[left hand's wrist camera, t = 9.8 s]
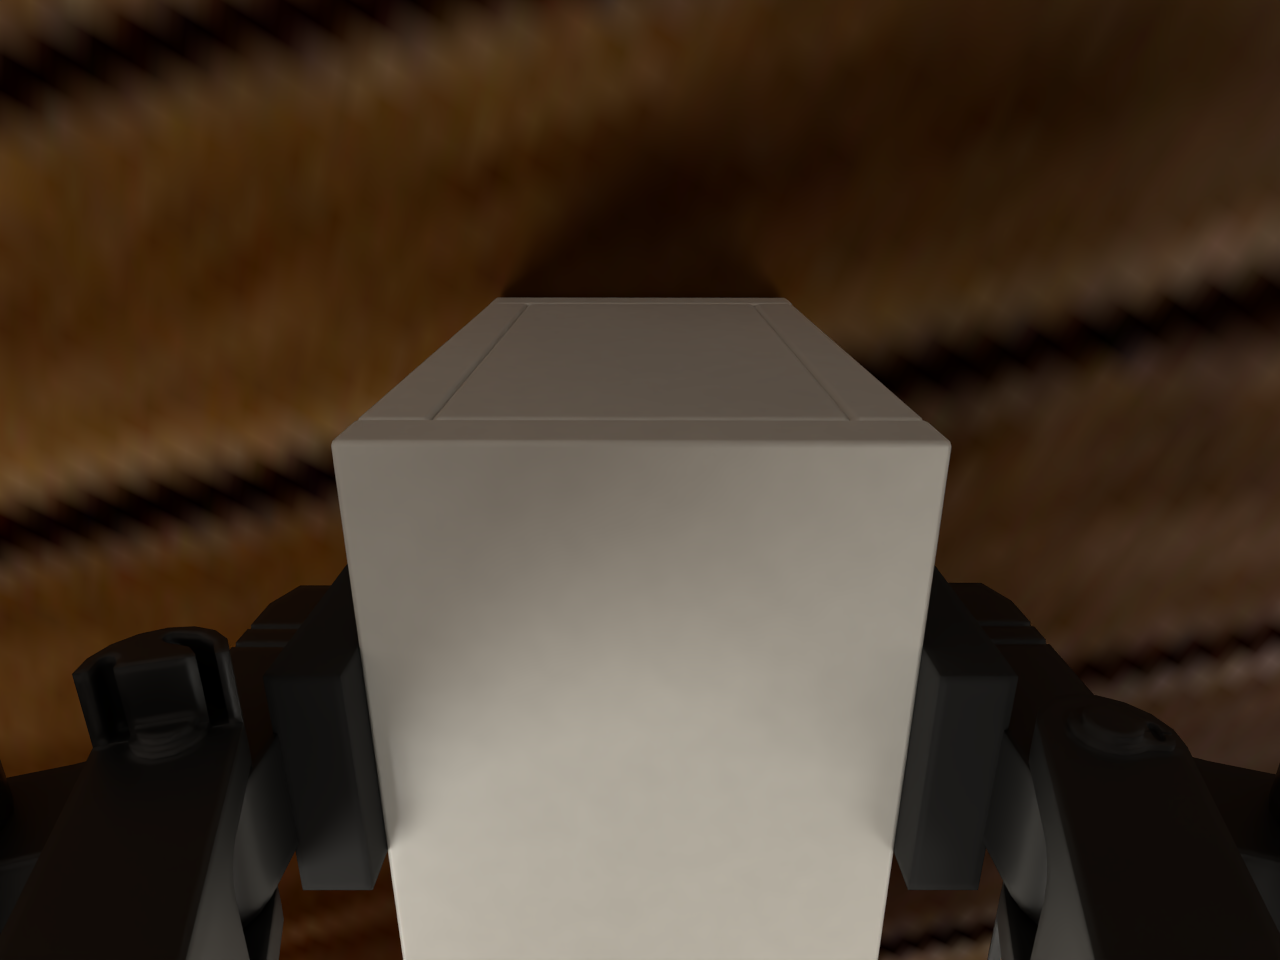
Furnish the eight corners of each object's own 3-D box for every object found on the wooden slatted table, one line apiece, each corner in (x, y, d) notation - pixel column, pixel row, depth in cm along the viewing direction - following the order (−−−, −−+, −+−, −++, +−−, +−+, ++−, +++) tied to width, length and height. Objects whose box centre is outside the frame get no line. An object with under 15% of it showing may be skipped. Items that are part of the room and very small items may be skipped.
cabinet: (739, 1042, 24) (795, 1543, 15) (540, 1042, 24) (483, 1542, 15) (786, 297, 16) (954, 442, 8) (495, 297, 16) (327, 441, 8)
